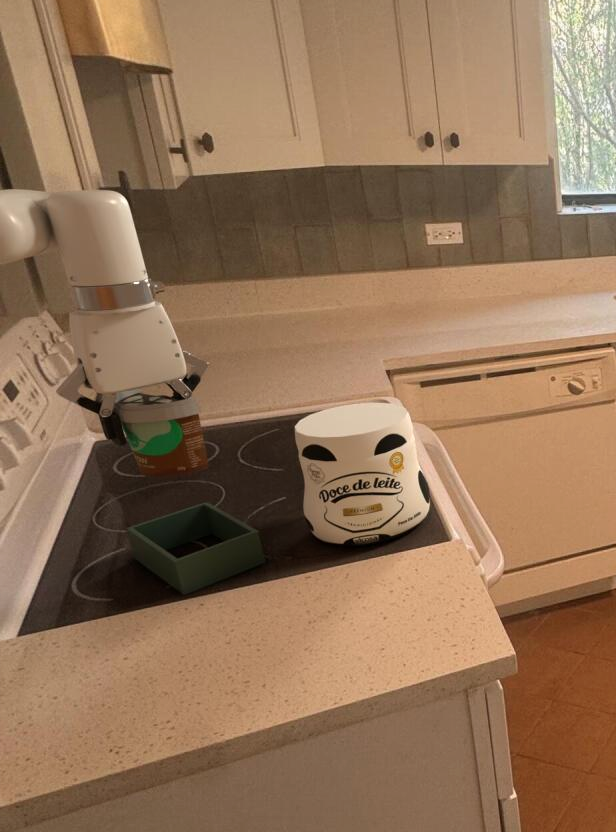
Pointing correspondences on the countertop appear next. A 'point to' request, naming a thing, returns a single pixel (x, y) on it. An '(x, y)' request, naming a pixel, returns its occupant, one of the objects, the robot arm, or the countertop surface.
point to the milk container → (361, 474)
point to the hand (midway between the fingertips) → (153, 433)
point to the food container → (162, 433)
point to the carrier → (204, 564)
